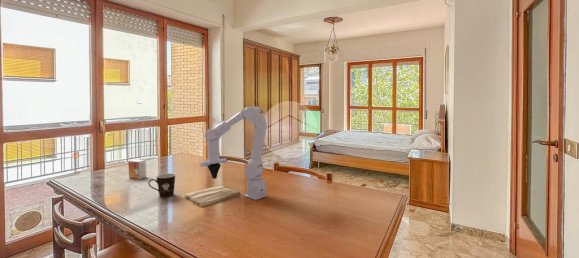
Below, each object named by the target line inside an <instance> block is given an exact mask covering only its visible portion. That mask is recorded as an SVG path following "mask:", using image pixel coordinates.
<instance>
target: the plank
mask: <svg viewBox="0 0 579 258" xmlns="http://www.w3.org/2000/svg"><path fill="white" fill-rule="evenodd" d="M227 190H230V189H229V188H228V187H226V186H223V185H216V186H212V187H209V188H205V189H201V190H196V191H192V192H189V193H185V194H184V198H185V199H187V200H189V201H191V202H193V200H194V199H198V198H201V197H205V196H208V195H212V194H216V193H219V192H223V191H227Z"/></svg>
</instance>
